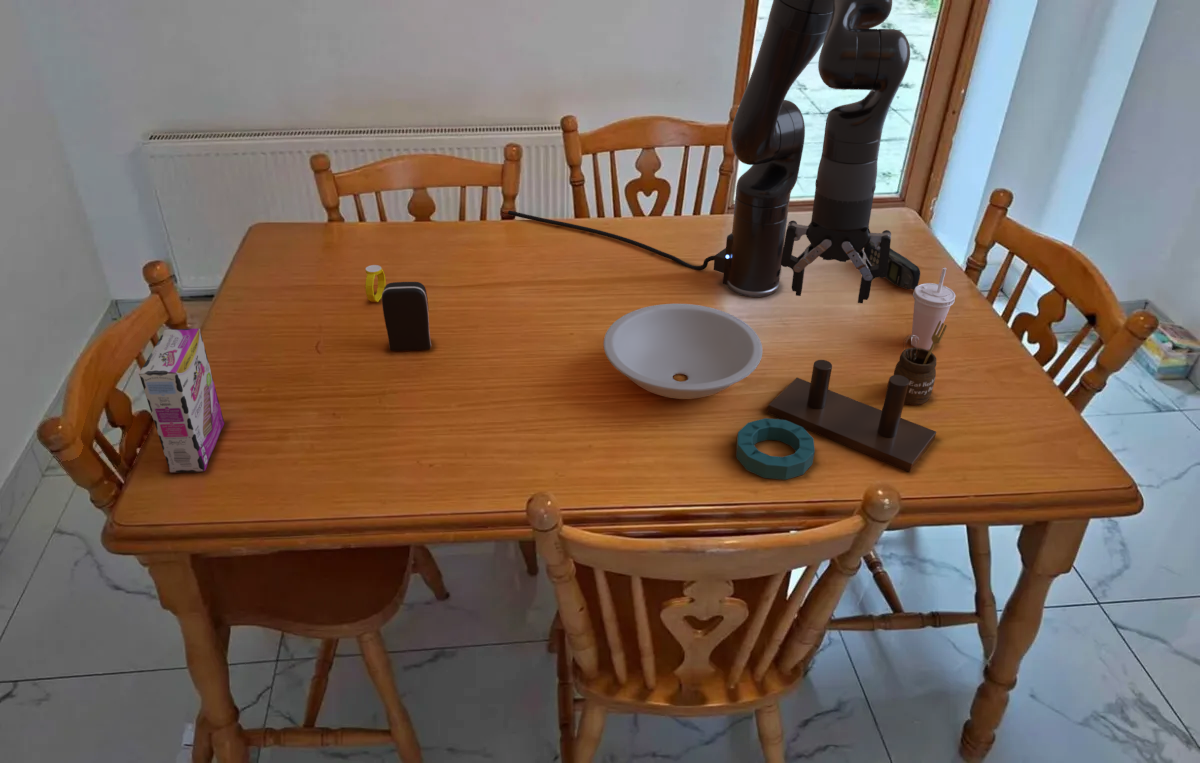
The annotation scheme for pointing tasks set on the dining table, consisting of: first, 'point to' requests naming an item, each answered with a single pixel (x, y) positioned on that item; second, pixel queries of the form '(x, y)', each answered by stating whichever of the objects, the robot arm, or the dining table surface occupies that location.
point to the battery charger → (406, 316)
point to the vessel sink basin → (682, 349)
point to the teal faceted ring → (774, 464)
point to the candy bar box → (183, 399)
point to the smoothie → (930, 310)
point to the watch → (369, 284)
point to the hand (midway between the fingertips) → (829, 297)
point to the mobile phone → (895, 267)
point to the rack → (855, 418)
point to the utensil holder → (919, 369)
